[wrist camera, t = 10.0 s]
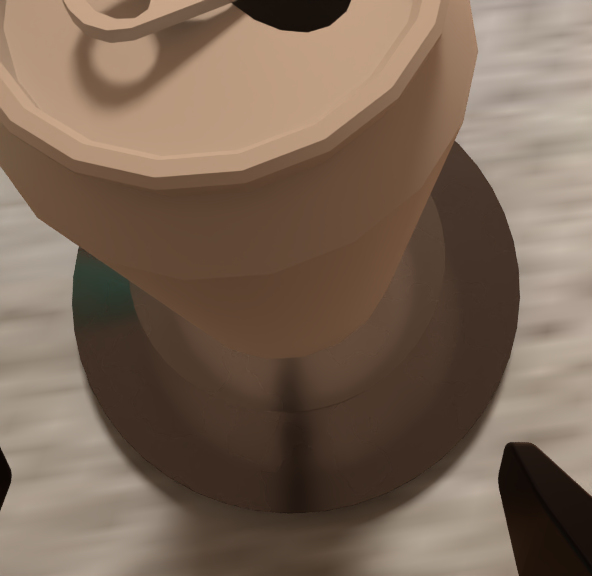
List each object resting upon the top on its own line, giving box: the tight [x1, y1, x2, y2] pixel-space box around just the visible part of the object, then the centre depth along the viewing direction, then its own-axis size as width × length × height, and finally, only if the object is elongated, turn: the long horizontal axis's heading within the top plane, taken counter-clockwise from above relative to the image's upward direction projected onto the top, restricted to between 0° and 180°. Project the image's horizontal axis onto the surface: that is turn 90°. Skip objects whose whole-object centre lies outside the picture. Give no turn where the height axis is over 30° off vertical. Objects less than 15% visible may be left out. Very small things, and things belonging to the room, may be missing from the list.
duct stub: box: [72, 141, 520, 513], centre depth 20 cm, size 18×18×4 cm
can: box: [0, 0, 478, 359], centre depth 12 cm, size 8×8×12 cm
